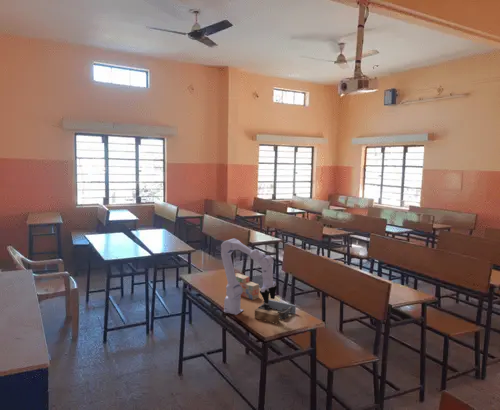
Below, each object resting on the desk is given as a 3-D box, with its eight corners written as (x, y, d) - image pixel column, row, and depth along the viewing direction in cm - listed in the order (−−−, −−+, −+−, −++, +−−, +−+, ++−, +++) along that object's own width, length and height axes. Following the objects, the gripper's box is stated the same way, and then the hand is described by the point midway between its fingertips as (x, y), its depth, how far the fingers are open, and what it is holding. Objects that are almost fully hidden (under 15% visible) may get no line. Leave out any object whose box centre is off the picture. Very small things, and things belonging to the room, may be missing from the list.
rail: (254, 318, 223) (254, 310, 223) (257, 316, 227) (257, 308, 226) (276, 324, 216) (276, 315, 216) (279, 321, 219) (279, 313, 219)
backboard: (260, 308, 237) (260, 301, 236) (264, 306, 241) (264, 298, 241) (292, 316, 226) (292, 308, 226) (295, 313, 231) (295, 305, 230)
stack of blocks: (259, 297, 256) (259, 279, 254) (252, 300, 252) (252, 281, 250) (237, 289, 271) (237, 272, 270) (230, 291, 267) (230, 274, 265)
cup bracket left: (258, 313, 230) (258, 307, 229) (263, 309, 236) (263, 303, 235) (264, 315, 228) (264, 308, 227) (269, 311, 234) (269, 304, 233)
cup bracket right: (288, 315, 228) (289, 309, 227) (283, 319, 222) (283, 313, 221) (282, 314, 230) (282, 307, 229) (277, 318, 224) (277, 311, 223)
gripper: (268, 281, 210) (270, 305, 211) (279, 274, 222) (281, 297, 223) (256, 280, 213) (258, 304, 214) (268, 273, 226) (270, 296, 227)
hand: (269, 300), depth 219 cm, fingers open, 7 cm apart
